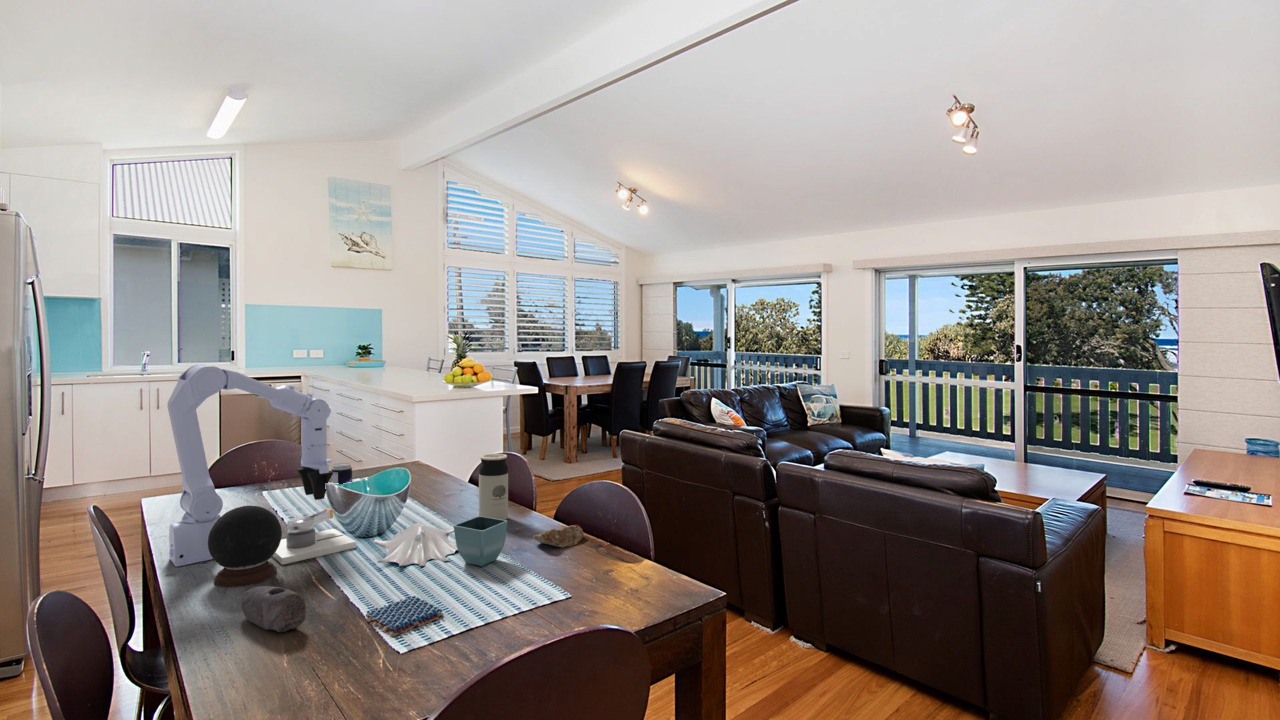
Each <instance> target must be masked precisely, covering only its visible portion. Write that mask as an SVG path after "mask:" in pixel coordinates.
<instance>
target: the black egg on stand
mask: <svg viewBox="0 0 1280 720" xmlns="http://www.w3.org/2000/svg"><path fill="white" fill-rule="evenodd" d="M282 535H283V532H282V526H281V524H280V520H279V519H278V517H277V516H276V515H275V514H274V513H273V512H272V511H270V510H269V509H266V508H265V507H262V506H258V505H243V506H238V507H235V508H233V509H230V510H229V511H226V512H225V513H223V514H222V515H220V518H219V519H218V520H217V521H216V522H215V524H214V525H213V527H212V528H211V530H210V533H209V536H208V549H209V552H210V555H211V556H212V558H213V559H212V560H214V562H215V563H217V564H218V565H219V566H221V567H223V568H222V569H220V570H219V571H218V572H217V574H216V575H215V576H214V578H213V579H214V580H213V583H214V585H215V586H217V587H220V588H226V589H227V588H231V589H232V588H240V587H247V586H253V585H256V584H257V585H258V584H260V583H263V582H266V581H268V580H270V579H272V578H274V577H275V576H276V575H277V572H278V569H277V568H278V567H277V566H276V565H275V564H274V563H273V562H271V561H268V560H270V559H271V558H273V554H274V553H275V552H276V550H277V549H278V547H279V544H280V541H281V539H282V538H283V537H282Z"/></svg>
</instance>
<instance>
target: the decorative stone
mask: <svg viewBox="0 0 1280 720" xmlns="http://www.w3.org/2000/svg"><path fill="white" fill-rule="evenodd" d="M583 535H584V530H583V528H581V526H580V525H579V524H572V525H569V526H567V527H564V528H561V529H556V528H552V529H549V530H546V531H544V532H541V533H540V532H539V533H538V534H535V535H533V536H532V538H533V539H534V540H535V541H537V542H539V543H541V544H545V545H550V546H553V547H558V548H563V549H564V548H566V547H567V548H570V547H573V546H577V545H578V544H579V543H580V541H581V540H582V539H583Z"/></svg>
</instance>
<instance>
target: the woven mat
mask: <svg viewBox="0 0 1280 720" xmlns="http://www.w3.org/2000/svg"><path fill="white" fill-rule="evenodd" d="M443 611H444V610H443V609H441V608H440V606H435V604H432V603H431V602H428V601H427V600H426V599H422V598H421V597H418V596H417V595H413V596H407V598H405V599H399V601H397V602H393V601H392V602H391V603H390V604H388V605H386V604H385V605H383V606H382V607H379V608H378V607H376V608H375V609H374V610H371V612H370V610H367V611H366V613H367V614H365V619H364V621H366V622H368V623H369V624H370V625H373V626H375V627H377V628H380V630H382V631H383V632H385V634H386V635H389V636H390V637H391V636H392V637H394V636H396V635H400V634H401V633H405V632H407V631H409V630H412V629H414V628H417V627H419V626H422V625H425V624H427V623H430V622H432V621H435V620H437V619H440V617H441V618H442V617H443V616H444V615H445V614H444V613H443Z"/></svg>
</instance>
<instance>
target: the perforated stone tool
mask: <svg viewBox="0 0 1280 720" xmlns="http://www.w3.org/2000/svg"><path fill="white" fill-rule="evenodd" d="M240 603H241V604H240V608H241V611H242V614H243V616H244V617H245V619H246V620H248V621H249V622H250V623H252V624H254V625H256V626H258V627H259V628H261V629H264V630H267V631H275V632H277V633H285V632H288V631H289V630H293V629H297V628H299V626H301V624H303V623H304V622H305V620H306V618H307V605H306V600H305V598H304V597H303V596H302V595H301V594H299V593H297V592H296V591H293V590H290V589H287V588H284V587H279V586H272V585H271V586H268V585H267V586H266V585H265V586H264V585H261V586H260V585H259V586H254V587H252V588H250V589H248V590H246V591H245V592H244V594H243V596H242V598H241V601H240Z"/></svg>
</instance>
